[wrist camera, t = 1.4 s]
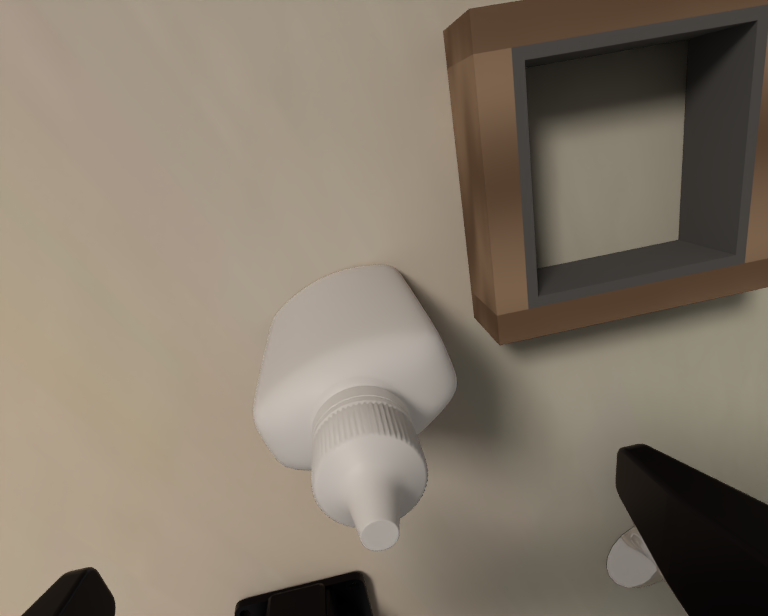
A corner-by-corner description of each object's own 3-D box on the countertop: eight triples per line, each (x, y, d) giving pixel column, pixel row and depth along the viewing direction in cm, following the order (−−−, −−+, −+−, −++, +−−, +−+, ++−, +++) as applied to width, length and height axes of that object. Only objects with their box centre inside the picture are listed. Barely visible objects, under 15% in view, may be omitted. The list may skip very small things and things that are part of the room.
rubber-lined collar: (710, 267, 21) (770, 286, 19) (474, 317, 21) (499, 345, 18) (731, -17, 18) (811, -47, 15) (443, 31, 17) (469, 8, 14)
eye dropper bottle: (402, 361, 21) (506, 619, 10) (271, 356, 20) (215, 634, 9) (415, 264, 19) (553, 432, 8) (274, 254, 19) (213, 426, 7)
